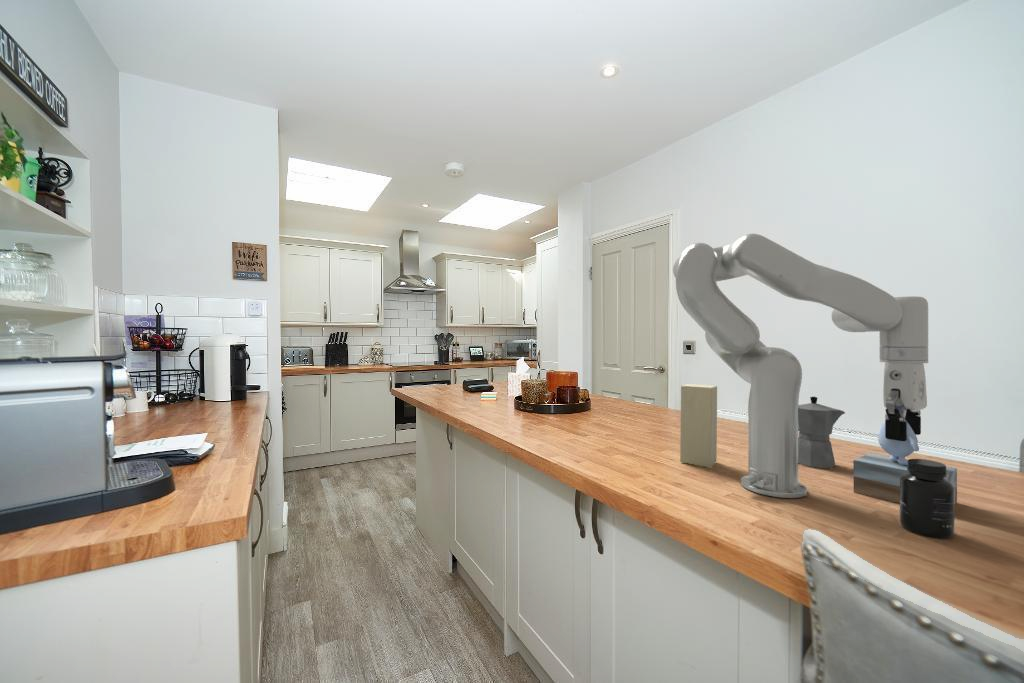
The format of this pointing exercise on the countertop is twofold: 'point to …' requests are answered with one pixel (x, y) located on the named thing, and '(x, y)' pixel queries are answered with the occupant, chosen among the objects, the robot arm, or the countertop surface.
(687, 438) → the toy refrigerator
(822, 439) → the coffeepot
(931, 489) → the supplement bottle
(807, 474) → the countertop surface
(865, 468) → the silver block
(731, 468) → the countertop surface
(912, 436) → the toy figure
